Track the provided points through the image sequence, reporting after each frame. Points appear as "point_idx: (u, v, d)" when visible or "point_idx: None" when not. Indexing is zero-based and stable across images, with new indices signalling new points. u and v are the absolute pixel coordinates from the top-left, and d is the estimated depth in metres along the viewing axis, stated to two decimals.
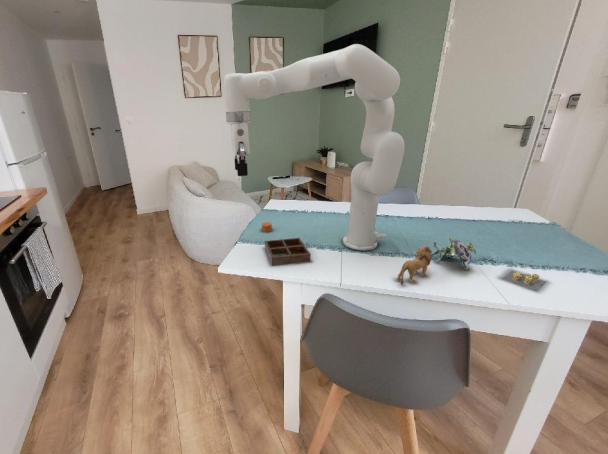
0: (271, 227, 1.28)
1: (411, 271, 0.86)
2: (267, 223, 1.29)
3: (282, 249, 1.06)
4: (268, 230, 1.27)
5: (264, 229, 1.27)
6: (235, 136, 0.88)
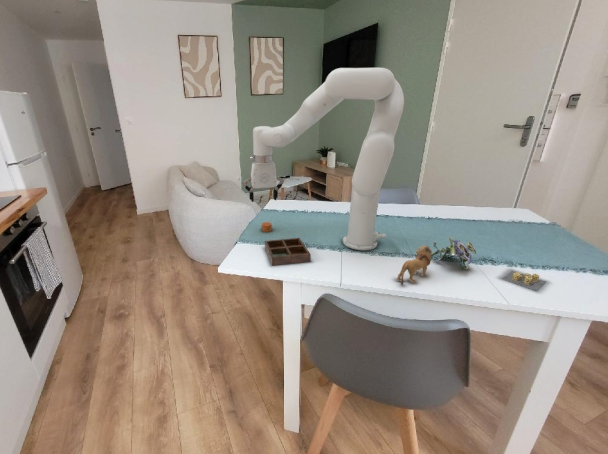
0: (271, 227, 1.28)
1: (411, 271, 0.86)
2: (267, 223, 1.29)
3: (282, 249, 1.06)
4: (268, 230, 1.27)
5: (264, 229, 1.27)
6: (251, 171, 1.18)
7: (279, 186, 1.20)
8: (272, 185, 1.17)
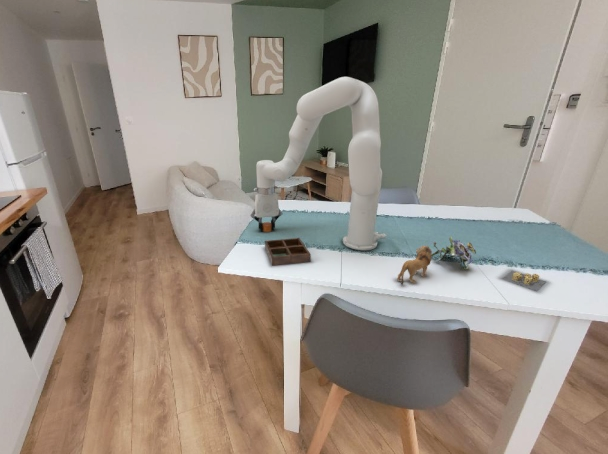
0: (271, 227, 1.28)
1: (411, 271, 0.86)
2: (267, 223, 1.29)
3: (282, 249, 1.06)
4: (268, 230, 1.27)
5: (264, 229, 1.27)
6: None
7: (276, 217, 1.27)
8: (275, 214, 1.24)
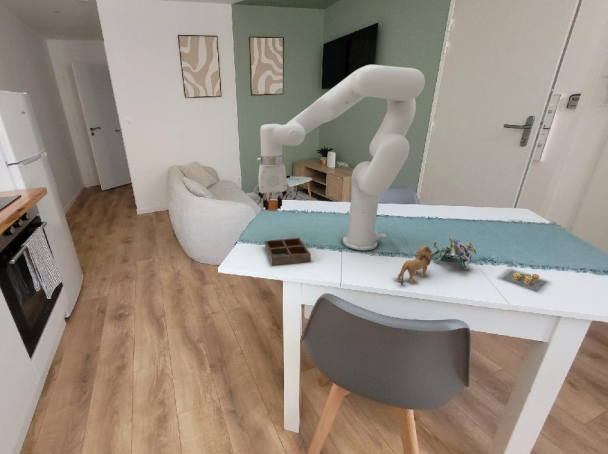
0: (277, 205, 1.10)
1: (411, 271, 0.86)
2: (273, 200, 1.10)
3: (282, 249, 1.06)
4: (274, 208, 1.09)
5: (270, 208, 1.09)
6: None
7: (283, 193, 1.08)
8: (282, 189, 1.06)
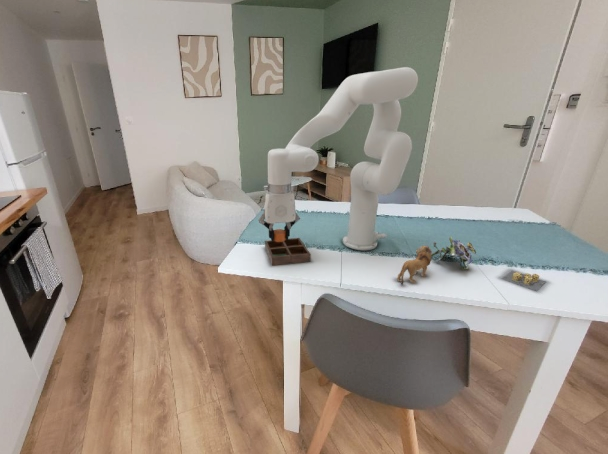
0: (285, 236, 1.00)
1: (411, 271, 0.86)
2: (280, 230, 1.01)
3: (282, 249, 1.06)
4: (281, 239, 0.99)
5: (276, 239, 0.99)
6: None
7: (291, 223, 0.99)
8: (290, 219, 0.96)
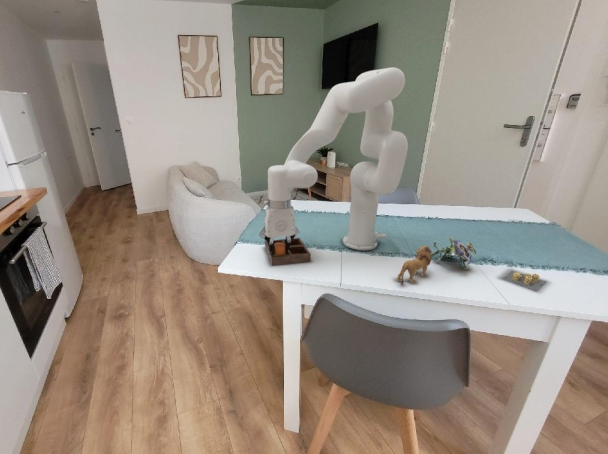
0: (285, 249, 1.02)
1: (411, 271, 0.86)
2: (280, 244, 1.03)
3: None
4: (281, 253, 1.01)
5: (277, 252, 1.01)
6: (265, 216, 0.99)
7: (291, 236, 1.01)
8: (290, 234, 0.98)
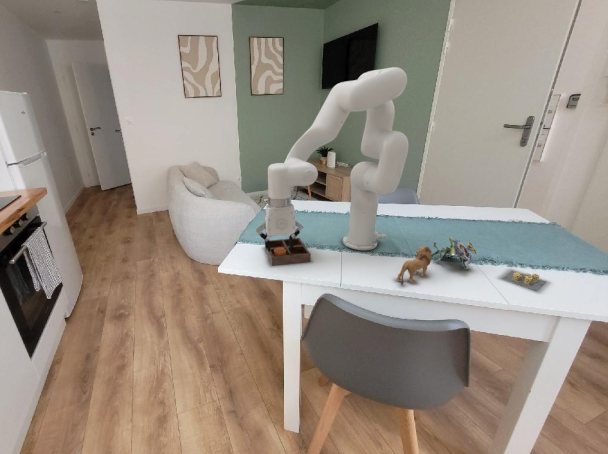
0: None
1: (411, 271, 0.86)
2: (280, 249, 1.04)
3: None
4: None
5: None
6: (265, 215, 0.99)
7: (296, 233, 1.00)
8: (290, 232, 0.98)
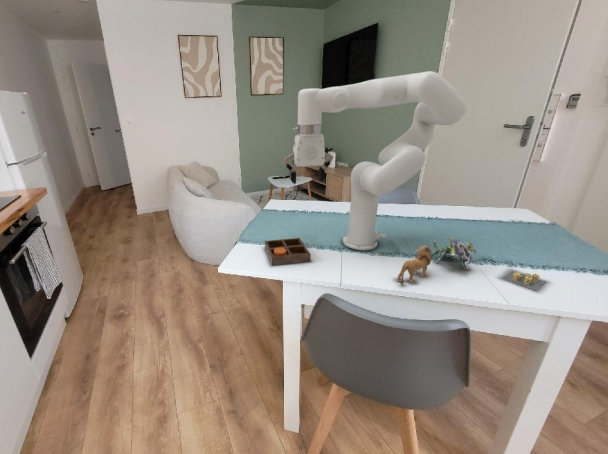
0: None
1: (411, 271, 0.86)
2: (280, 249, 1.04)
3: None
4: None
5: None
6: (293, 146, 0.97)
7: (327, 164, 0.99)
8: (319, 162, 0.96)
